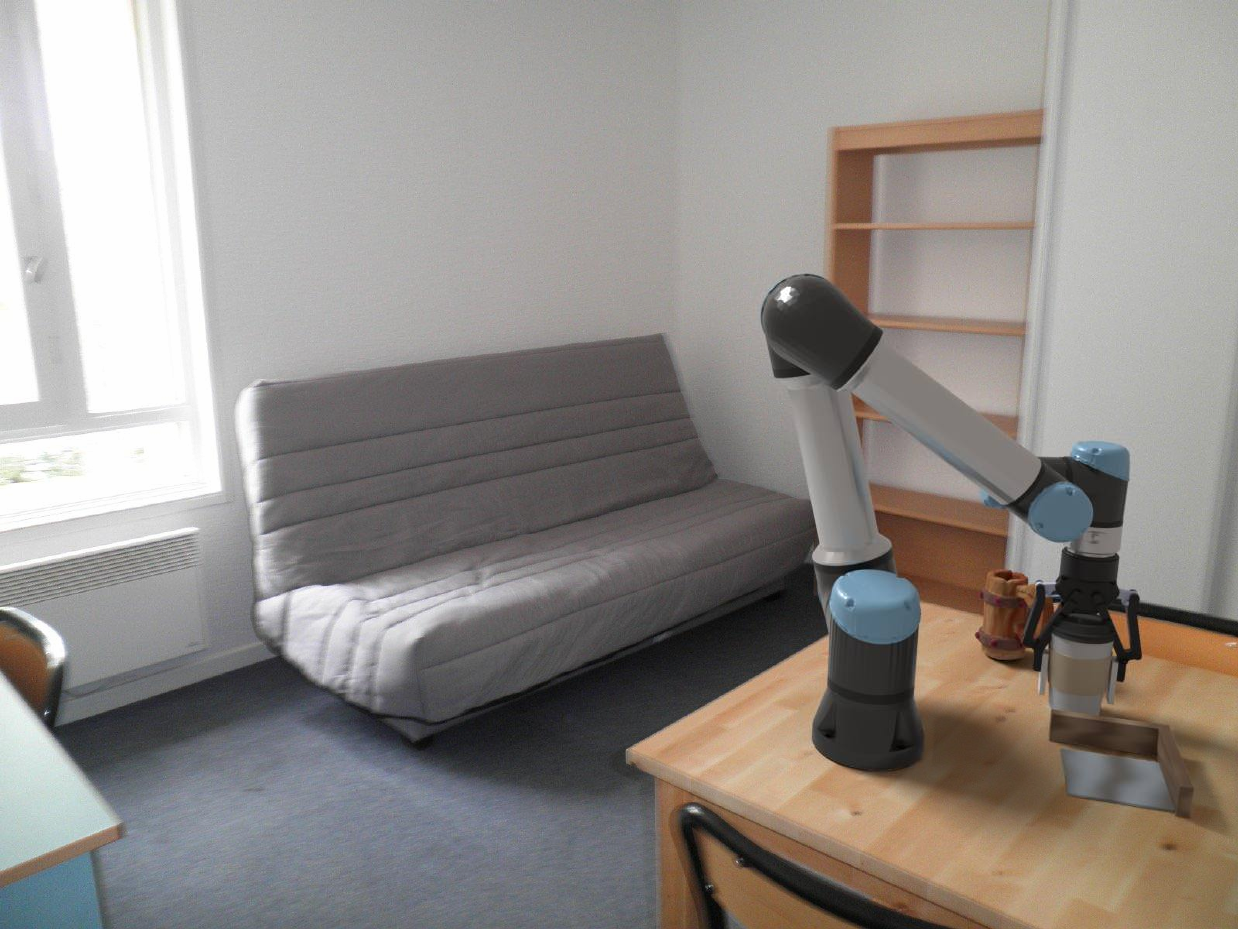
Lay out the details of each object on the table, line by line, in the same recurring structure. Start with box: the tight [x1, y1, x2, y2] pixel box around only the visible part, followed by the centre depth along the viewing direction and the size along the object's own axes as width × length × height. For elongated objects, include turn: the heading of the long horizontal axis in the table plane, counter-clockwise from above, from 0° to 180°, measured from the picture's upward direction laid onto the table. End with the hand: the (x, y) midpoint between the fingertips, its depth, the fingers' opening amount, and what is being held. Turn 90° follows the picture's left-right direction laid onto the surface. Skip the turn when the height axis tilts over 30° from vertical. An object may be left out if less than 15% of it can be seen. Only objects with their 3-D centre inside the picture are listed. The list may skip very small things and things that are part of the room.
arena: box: [1048, 709, 1195, 819], centre depth 130 cm, size 15×17×4 cm
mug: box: [974, 568, 1055, 661], centre depth 163 cm, size 15×8×15 cm, turn 17°
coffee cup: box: [1047, 611, 1116, 716], centre depth 146 cm, size 9×9×15 cm
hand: (1075, 695), depth 147 cm, fingers closed on coffee cup, 9 cm apart
